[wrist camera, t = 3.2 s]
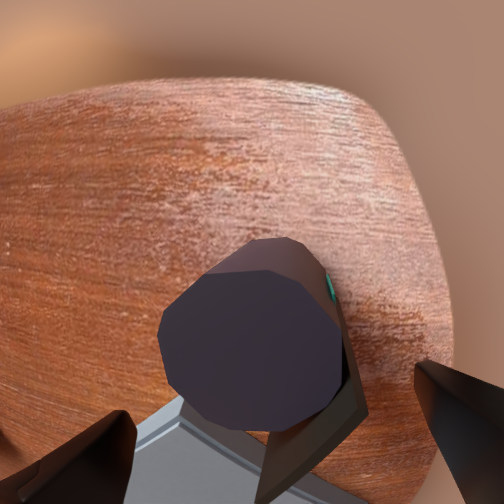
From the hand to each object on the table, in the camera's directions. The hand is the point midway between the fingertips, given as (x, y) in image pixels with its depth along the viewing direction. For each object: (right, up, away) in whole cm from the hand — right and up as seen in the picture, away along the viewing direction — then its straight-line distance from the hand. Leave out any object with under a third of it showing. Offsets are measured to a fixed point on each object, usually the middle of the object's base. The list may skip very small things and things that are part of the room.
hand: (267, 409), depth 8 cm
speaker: (0, +2, +9) cm, 9 cm away
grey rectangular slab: (-8, -23, +15) cm, 28 cm away
